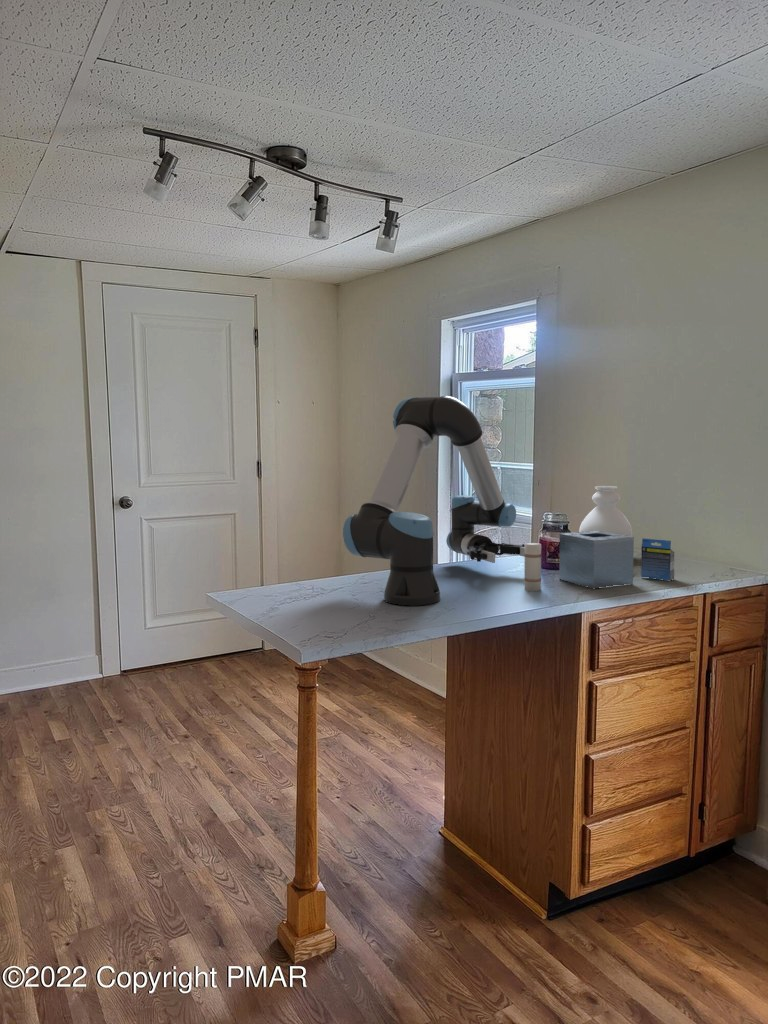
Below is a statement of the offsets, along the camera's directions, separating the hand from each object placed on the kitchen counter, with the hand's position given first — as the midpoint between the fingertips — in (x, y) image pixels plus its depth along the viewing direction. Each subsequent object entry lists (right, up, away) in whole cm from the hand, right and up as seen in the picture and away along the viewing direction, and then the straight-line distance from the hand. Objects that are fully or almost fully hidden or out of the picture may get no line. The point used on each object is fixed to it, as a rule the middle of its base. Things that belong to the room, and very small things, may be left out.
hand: (513, 556), depth 218 cm
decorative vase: (+39, -3, +41) cm, 57 cm away
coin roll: (+4, -9, -8) cm, 13 cm away
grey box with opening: (+24, -8, 0) cm, 25 cm away
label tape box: (+44, -7, +3) cm, 44 cm away
